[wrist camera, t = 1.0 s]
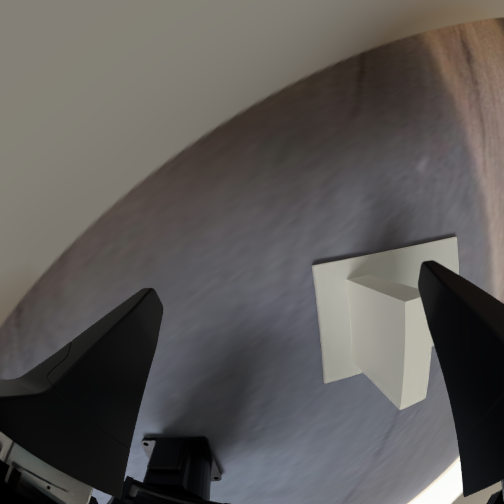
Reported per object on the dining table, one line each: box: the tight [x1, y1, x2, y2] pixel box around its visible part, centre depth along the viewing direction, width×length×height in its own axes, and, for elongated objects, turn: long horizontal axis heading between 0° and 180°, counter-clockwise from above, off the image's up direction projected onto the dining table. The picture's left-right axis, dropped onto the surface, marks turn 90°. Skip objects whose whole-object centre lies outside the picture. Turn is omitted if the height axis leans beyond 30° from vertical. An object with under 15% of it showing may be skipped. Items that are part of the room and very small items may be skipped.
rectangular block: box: [346, 275, 432, 410], centre depth 17 cm, size 7×2×8 cm, turn 9°
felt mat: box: [312, 237, 459, 384], centre depth 21 cm, size 10×15×1 cm, turn 99°
